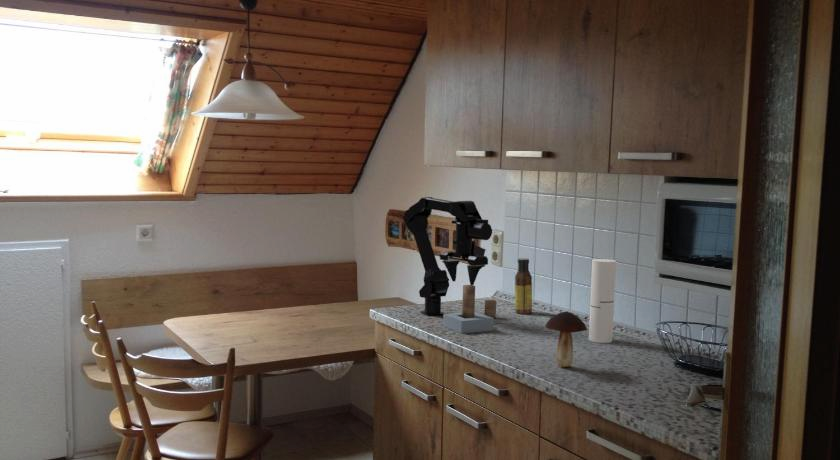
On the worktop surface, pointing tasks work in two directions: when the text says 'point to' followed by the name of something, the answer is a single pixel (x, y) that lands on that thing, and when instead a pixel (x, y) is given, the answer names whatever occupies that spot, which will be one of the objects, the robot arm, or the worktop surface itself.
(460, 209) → the robot arm
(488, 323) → the sleeve block
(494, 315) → the short walnut pin
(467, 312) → the tall walnut pin
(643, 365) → the worktop surface
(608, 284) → the cylindrical container
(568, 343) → the decorative mushroom
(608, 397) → the worktop surface
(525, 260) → the sauce bottle
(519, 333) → the worktop surface
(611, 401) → the worktop surface
